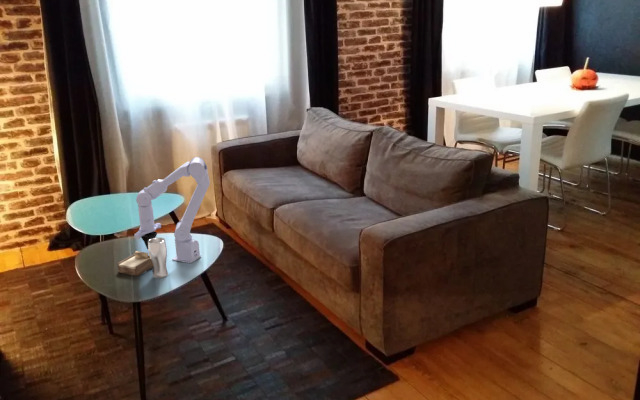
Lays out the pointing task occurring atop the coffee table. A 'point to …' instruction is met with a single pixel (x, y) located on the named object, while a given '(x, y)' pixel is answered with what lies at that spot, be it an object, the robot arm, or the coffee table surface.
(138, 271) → the box
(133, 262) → the lid
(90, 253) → the coffee table surface
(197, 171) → the robot arm
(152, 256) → the beer glass
